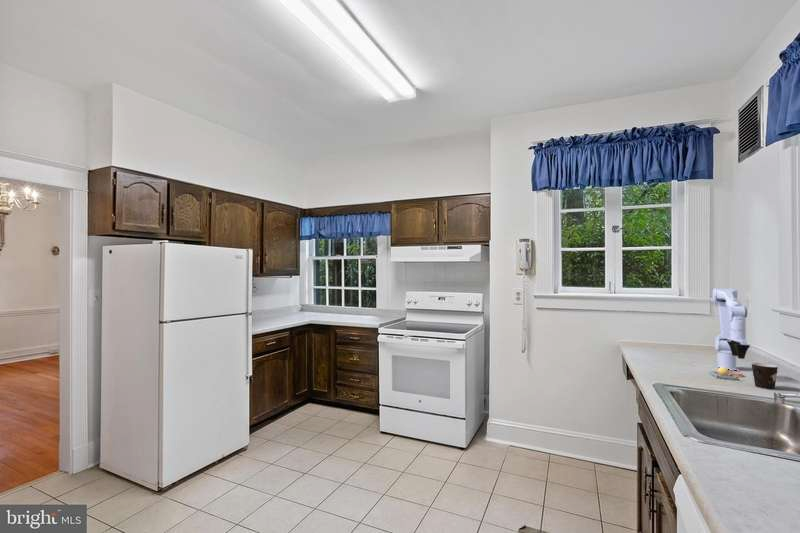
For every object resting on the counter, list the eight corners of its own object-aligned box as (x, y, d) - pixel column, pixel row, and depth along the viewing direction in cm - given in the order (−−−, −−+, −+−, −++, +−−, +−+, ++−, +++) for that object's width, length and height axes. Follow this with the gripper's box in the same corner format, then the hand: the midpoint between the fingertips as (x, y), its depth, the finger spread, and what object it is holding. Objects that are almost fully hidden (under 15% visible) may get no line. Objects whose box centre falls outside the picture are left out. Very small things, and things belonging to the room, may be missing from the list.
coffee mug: (766, 385, 175) (766, 363, 175) (783, 390, 167) (783, 367, 167) (739, 383, 176) (739, 362, 177) (755, 389, 168) (754, 366, 168)
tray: (710, 373, 195) (709, 371, 195) (729, 375, 192) (729, 372, 192) (717, 378, 186) (717, 375, 186) (737, 380, 183) (737, 377, 183)
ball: (716, 374, 192) (716, 365, 192) (727, 375, 190) (727, 366, 190) (719, 376, 188) (719, 367, 188) (731, 377, 186) (730, 368, 186)
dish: (718, 372, 199) (718, 369, 199) (739, 374, 196) (739, 371, 196) (725, 375, 192) (725, 373, 192) (746, 377, 188) (746, 374, 188)
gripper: (722, 327, 199) (722, 353, 198) (733, 331, 186) (733, 359, 185) (739, 328, 196) (740, 355, 196) (751, 332, 183) (752, 360, 182)
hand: (738, 357), depth 190 cm, fingers open, 7 cm apart
